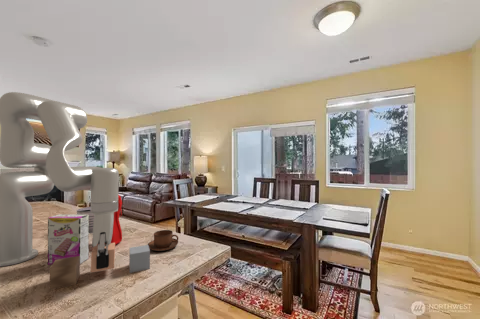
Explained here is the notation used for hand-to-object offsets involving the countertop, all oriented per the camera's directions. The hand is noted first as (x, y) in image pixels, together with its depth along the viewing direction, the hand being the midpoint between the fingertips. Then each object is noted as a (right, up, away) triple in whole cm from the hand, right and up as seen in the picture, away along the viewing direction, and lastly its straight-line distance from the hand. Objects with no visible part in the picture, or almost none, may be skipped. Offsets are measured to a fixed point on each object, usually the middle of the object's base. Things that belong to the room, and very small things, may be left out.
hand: (103, 262), depth 70 cm
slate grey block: (+9, -4, +4) cm, 11 cm away
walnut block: (-8, -4, -5) cm, 10 cm away
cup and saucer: (+12, -4, +21) cm, 25 cm away
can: (-33, -4, +42) cm, 54 cm away
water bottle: (-12, -4, +24) cm, 27 cm away
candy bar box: (-17, -4, +8) cm, 19 cm away
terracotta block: (0, -1, 0) cm, 1 cm away
